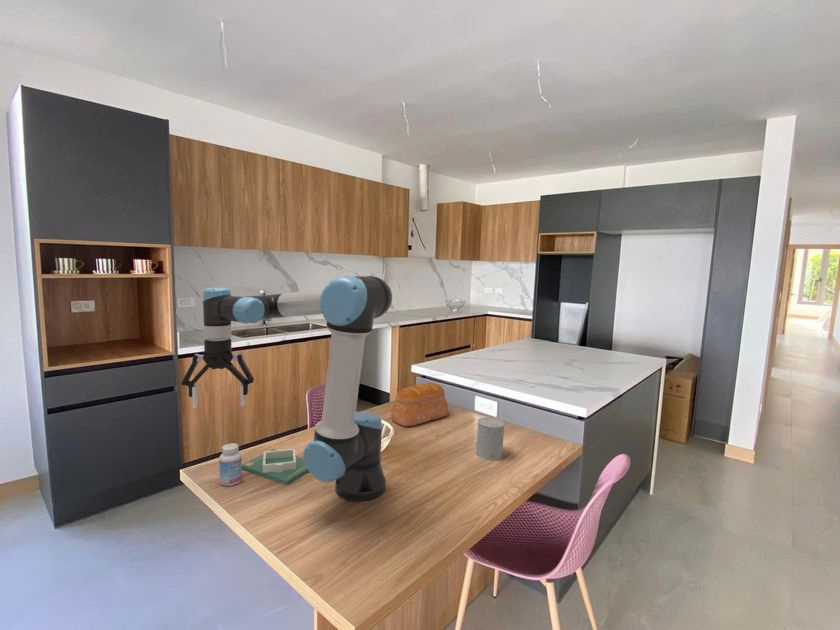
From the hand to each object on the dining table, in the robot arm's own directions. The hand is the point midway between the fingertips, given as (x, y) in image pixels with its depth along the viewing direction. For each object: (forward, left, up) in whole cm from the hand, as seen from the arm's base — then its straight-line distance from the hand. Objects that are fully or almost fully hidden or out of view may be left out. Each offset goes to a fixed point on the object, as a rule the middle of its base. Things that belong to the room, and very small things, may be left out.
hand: (219, 405), depth 132 cm
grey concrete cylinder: (-70, -58, -22) cm, 94 cm away
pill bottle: (-7, +2, -22) cm, 23 cm away
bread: (-32, -77, -22) cm, 86 cm away
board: (-13, -12, -22) cm, 28 cm away
